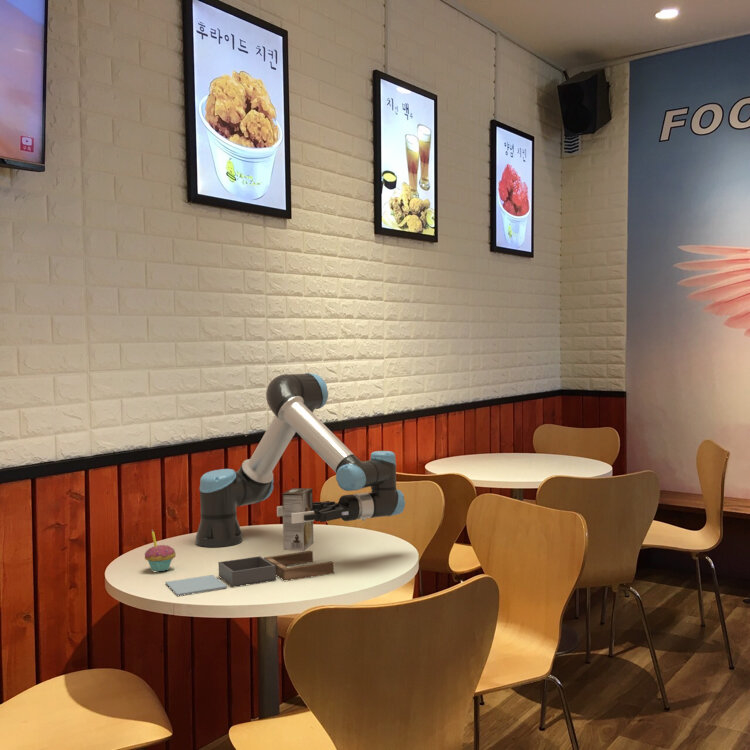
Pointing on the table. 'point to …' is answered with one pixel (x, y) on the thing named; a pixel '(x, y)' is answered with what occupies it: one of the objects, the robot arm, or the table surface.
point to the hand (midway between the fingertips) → (284, 515)
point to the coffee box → (297, 533)
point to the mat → (195, 585)
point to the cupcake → (159, 556)
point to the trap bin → (247, 571)
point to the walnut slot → (299, 571)
